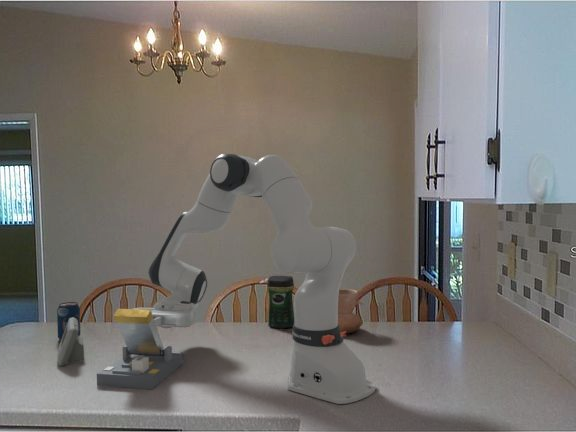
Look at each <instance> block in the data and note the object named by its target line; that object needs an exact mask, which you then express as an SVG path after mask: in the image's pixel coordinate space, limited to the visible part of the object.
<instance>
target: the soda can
mask: <svg viewBox="0 0 576 432" xmlns="http://www.w3.org/2000/svg"><path fill="white" fill-rule="evenodd" d="M56 313H57V314H56V319H57V338H58V339H59V341H60V342H61V339H62V337H63V334H64V331H65V328H66V326H67V323H68V321H69V318H72V317H74V318H76V319H77V320H78V329H79V332H78V336H80V337H81V308H80V306H79V302H77V301H68V302H61V303H59V305H58V308H57V310H56Z"/></svg>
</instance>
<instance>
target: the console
mask: <svg viewBox="0 0 576 432" xmlns="http://www.w3.org/2000/svg"><path fill="white" fill-rule="evenodd" d="M172 347H173V346H172V345H168V346H166V347H165V348H164V354H165V356H148V355H144V357H149V369H148V370H146V371H145V372H144V373H142V372H140V371H132V360H133V359H135V358H136V357H140V356H141V355H130V354H129V350H128V348H127V346H126V344H124V345H123V346H122V357H121V358H120V359H118V360H116V361H115V362H113V363H111V364H110V365H108V366H107V367H105V368H103V369H102V370H101V371H98V372H97V373H96V386H97V387H98V386H99V387H111V388H113V387H114V388H127V389H142V390H143V389H144V390H154V389H155V388H156V387H157V386H158V385H160V384H161V383H162V382H163V381H164V380H165V379H166V378H168V377H169V376H170V375H171V374H173V373H174V372H175V371H176V370H178V368H180V367H181V366H182V365H183V353H181V352H180V353H177V352H173V348H172Z"/></svg>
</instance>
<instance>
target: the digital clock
mask: <svg viewBox="0 0 576 432" xmlns="http://www.w3.org/2000/svg"><path fill="white" fill-rule="evenodd" d="M78 332H79V329H78V320H77V319H76V318H74V317H72V318H69V321H68V323H67V326H66V328H65V331H64V334H63V337H62V339H61V341H60V343H59V345H58V349H57V358H56V359H57V360H56V363H57V365H59V366H60V367H64V366H66V365H68V363H77V362H83V361H84V360H85V347H84V338H83V337H82V336H81V335H80V336H78Z"/></svg>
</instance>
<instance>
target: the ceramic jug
mask: <svg viewBox="0 0 576 432" xmlns="http://www.w3.org/2000/svg"><path fill="white" fill-rule="evenodd" d="M357 298H358V291H357V290H355V289H348V288H340V289H339V295H338V325H339V327H340V329H341V332H344V331H346V333H345V334H344V335H348V334H351V333H354V332H356V331H358V330H359V329H360V328H362V326H363V323H364V322H363V320H362V319H361V318H360V317H359V316H358V315H356V314H355V313H353V310H354V307H355V306H357V305H360V304H361V306H363V305H364V303H365V301H364V300H362V299H358V300H357Z"/></svg>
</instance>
